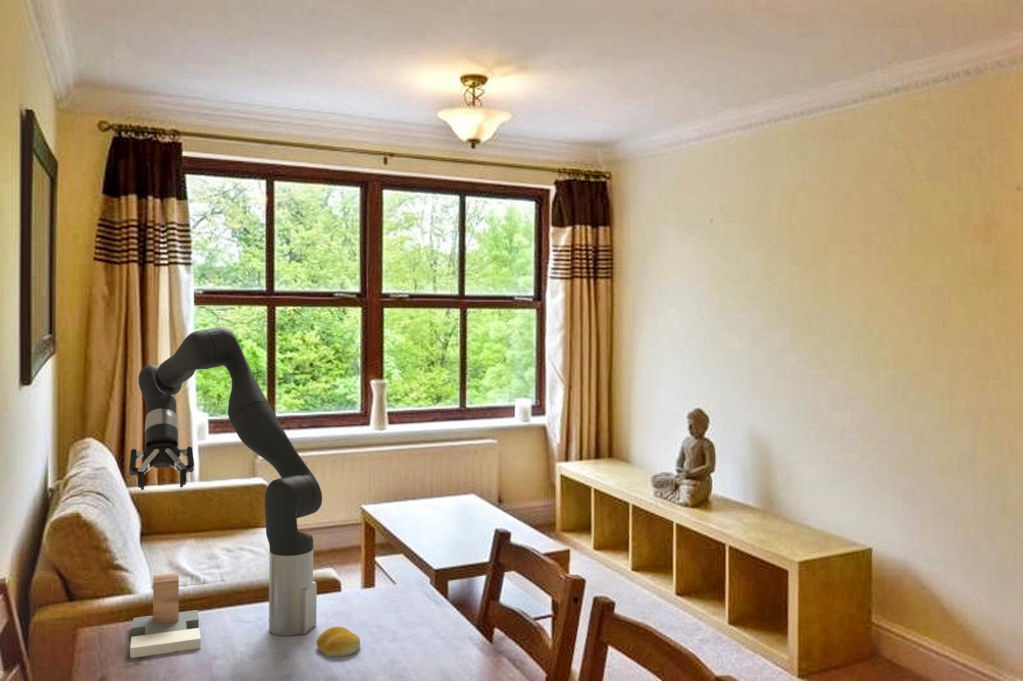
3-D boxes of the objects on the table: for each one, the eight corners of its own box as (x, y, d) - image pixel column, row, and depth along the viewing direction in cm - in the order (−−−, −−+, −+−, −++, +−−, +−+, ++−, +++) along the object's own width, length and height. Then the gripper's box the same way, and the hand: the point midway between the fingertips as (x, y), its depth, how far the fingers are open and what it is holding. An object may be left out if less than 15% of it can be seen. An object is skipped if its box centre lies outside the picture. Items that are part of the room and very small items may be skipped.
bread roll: (332, 662, 158) (332, 642, 158) (311, 647, 165) (311, 628, 165) (368, 651, 163) (368, 631, 163) (346, 637, 170) (347, 618, 170)
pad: (131, 646, 163) (131, 636, 163) (199, 637, 169) (199, 627, 169) (130, 658, 158) (130, 648, 158) (200, 648, 163) (200, 638, 163)
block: (153, 616, 175) (153, 575, 174) (178, 613, 177) (178, 572, 176) (153, 624, 170) (153, 582, 170) (178, 621, 172) (178, 579, 172)
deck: (133, 627, 174) (133, 617, 173) (197, 618, 179) (197, 609, 179) (131, 646, 163) (131, 636, 163) (199, 637, 169) (199, 627, 169)
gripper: (130, 423, 193) (129, 480, 184) (193, 421, 200) (195, 476, 190) (130, 441, 199) (129, 497, 189) (191, 438, 205) (193, 493, 195)
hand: (162, 486), depth 189 cm, fingers open, 8 cm apart
